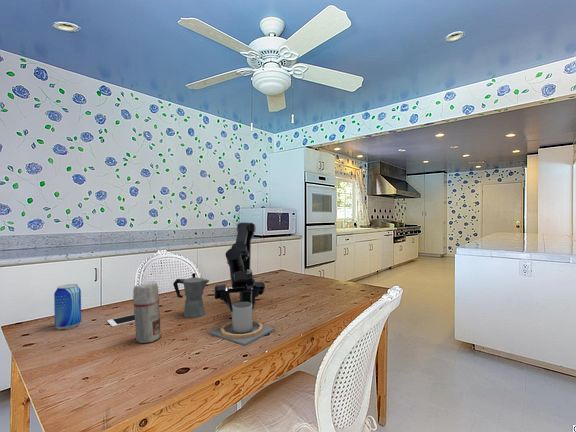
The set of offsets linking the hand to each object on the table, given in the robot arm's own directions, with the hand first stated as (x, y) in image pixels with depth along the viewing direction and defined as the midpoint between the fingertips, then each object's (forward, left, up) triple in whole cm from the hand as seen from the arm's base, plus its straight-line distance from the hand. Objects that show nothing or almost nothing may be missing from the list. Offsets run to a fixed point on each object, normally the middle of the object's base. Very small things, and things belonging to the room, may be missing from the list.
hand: (242, 310), depth 109 cm
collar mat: (-1, +1, -8) cm, 8 cm away
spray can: (-24, -22, -8) cm, 34 cm away
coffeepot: (-33, +3, -8) cm, 34 cm away
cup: (-2, 0, -7) cm, 7 cm away
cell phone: (-49, -14, -9) cm, 52 cm away
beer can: (-62, -33, -8) cm, 71 cm away
